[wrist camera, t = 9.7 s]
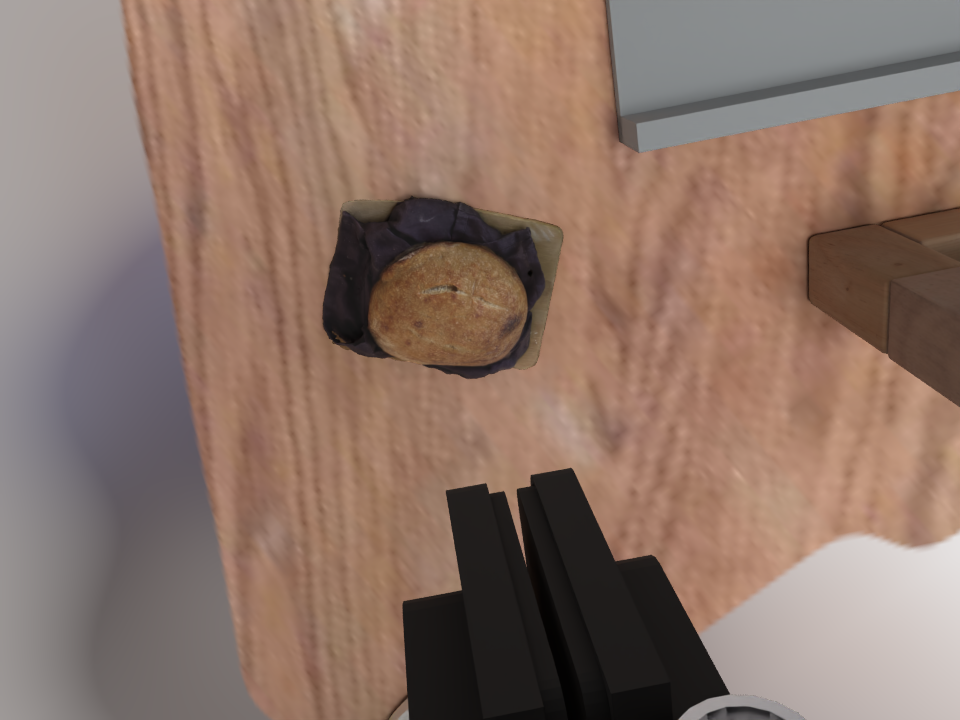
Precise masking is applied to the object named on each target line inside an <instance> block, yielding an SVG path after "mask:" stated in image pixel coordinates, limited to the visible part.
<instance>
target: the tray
mask: <svg viewBox="0 0 960 720" xmlns="http://www.w3.org/2000/svg"><path fill="white" fill-rule="evenodd" d="M606 9H607V19H608V29H609V39H610V49H611V59H612V69H613V79H614V89H615V99H616V109H617V119H618V129H619V139H620V142H621V143H623V144H625V145H626V146H628V147H630V148H632V149H633V150H635V151H637V152H638V153H641V152H646V151H651V150H656V149H661V148H667V147H672V146H677V145H682V144H687V143H692V142H697V141H703V140H708V139H713V138H718V137H723V136H728V135H733V134H738V133H744V132H749V131H754V130H759V129H764V128H769V127H774V126H780V125H785V124H790V123H795V122H800V121H805V120H810V119H815V118H821V117H826V116H831V115H836V114H841V113H846V112H851V111H857V110H862V109H867V108H872V107H877V106H882V105H887V104H892V103H898V102H903V101H908V100H913V99H918V98H923V97H928V96H934V95H939V94H944V93H949V92H954V91H959V90H960V0H606Z"/></svg>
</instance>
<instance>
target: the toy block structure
mask: <svg viewBox="0 0 960 720" xmlns="http://www.w3.org/2000/svg"><path fill="white" fill-rule="evenodd" d="M809 299H810V301H811V303H812V304H813V305H814V306H816V307H817V308H819V309H820V310H822V311H823V312H825V313H826V314H827V315H829V316H830V317H832V318H833V319H835V320H836V321H838V322H839V323H840V324H842V325H843V326H845V327H846V328H848V329H849V330H851V331H852V332H853V333H855V334H856V335H858V336H859V337H861V338H862V339H864V340H865V341H866V342H868V343H869V344H871V345H872V346H874V347H875V348H876V349H878V350H879V351H881V352H882V353H886V354H888V356H889V358H890V359H891V360H893V361H894V362H896V363H897V364H898V365H900V366H901V367H903V368H904V369H906V370H907V371H909V372H910V373H911V374H913V375H914V376H916V377H917V378H919V379H920V380H921V381H923V382H924V383H926V384H927V385H929V386H930V387H932V388H933V389H934V390H936V391H937V392H939V393H940V394H942V395H943V396H945V397H946V398H947V399H949V400H950V401H952V402H953V403H955V404H956V405H958V406H959V407H960V208H959V209H954V210H949V211H943V212H938V213H933V214H927V215H922V216H917V217H911V218H906V219H901V220H895V221H890V222H886V223H883V224H882V225H881V226H879V225H875V224H873V225H868V226H862V227H857V228H852V229H846V230H841V231H836V232H830V233H825V234H820V235H815V236H813V237H811V238H810V241H809Z"/></svg>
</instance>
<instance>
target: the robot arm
mask: <svg viewBox="0 0 960 720" xmlns="http://www.w3.org/2000/svg"><path fill="white" fill-rule="evenodd" d="M530 479H531V486H530V487H525V488H519V489H517V498H518V506H519V513H520V521H521V528H522V535H523V543H524V550H525V557H526V563H525V560H524V557H523V553H522V550H521V546H520V543H519V539H518V536H517V533H516V529H515V526H514V522H513V519H512V515H511V512H510V508H509V505H508V502H507V498H506V495H505V492H504V491H503V492H497V493H492V494H489V491H488V487H487V484H486V483H485V484H479V485H474V486H468V487H463V488H457V489H452V490H446V496H447V502H448V508H449V514H450V520H451V526H452V532H453V538H454V544H455V550H456V556H457V562H458V568H459V574H460V580H461V586H462V590H461V591H456V592H451V593H445V594H440V595H435V596H429V597H424V598H419V599H413V600H408V601H403V626H404V643H405V660H406V677H407V694H408V698H407V699H406V700H405V701H404V702H403V703H402V704H401V705H400V706H399V707H398V708H397V710H396V711H395V712H394V713H393V714H392V716H391V717H390V719H389V720H805V718H804V717H802V716H801V715H800V714H799V713H798V712H795V711H794V710H792V709H790V708H788V707H786V706H784V705H782V704H780V703H778V702H776V701H772V700H768V699H764V698H761V697H757V696H751V695H730V693H729V691H728V689H727V688H726V686H725V684H724V682H723V680H722V678H721V676H720V675H719V673H718V671H717V669H716V667H715V665H714V664H713V662H712V660H711V658H710V656H709V655H708V652H707V650H706V649H705V647H704V645H703V643H702V641H701V639H700V637H699V636H698V634H697V632H696V630H695V628H694V626H693V624H692V623H691V621H690V619H689V617H688V615H687V613H686V611H685V610H684V608H683V606H682V604H681V602H680V600H679V598H678V597H677V595H676V593H675V591H674V589H673V587H672V585H671V584H670V582H669V580H668V578H667V576H666V574H665V572H664V571H663V569H662V567H661V565H660V563H659V562H658V560H657V559H656V557H654V556H652V555H648V556H643V557H637V558H632V559H627V560H621V561H616V562H615V560H614V558H613V555H612V553H611V551H610V549H609V547H608V545H607V542H606V540H605V538H604V536H603V534H602V531H601V529H600V527H599V525H598V523H597V521H596V518H595V516H594V514H593V512H592V510H591V507H590V505H589V503H588V501H587V499H586V497H585V494H584V492H583V490H582V488H581V486H580V483H579V481H578V479H577V477H576V475H575V473H574V471H573V469H572V468H568V469H563V470H557V471H552V472H546V473H541V474H535V475H531V478H530ZM526 564H527V567H526Z"/></svg>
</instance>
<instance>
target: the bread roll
mask: <svg viewBox="0 0 960 720" xmlns="http://www.w3.org/2000/svg"><path fill="white" fill-rule="evenodd" d="M562 242H563V232H562V230H561V228H560V227H558V226H555V225H553V224H548V223H545V222H541V221H537V220H533V219H529V218H521V217H517V216H512V215H509V214H503V213H498V212H493V211H488V210H482V209H476V208H472V207H470V206H468V205H466V204H464V203H461V202H459V203H452V202H448V201H442V200H437V199H426V198H419V199H418V198H414V197H413V196H411V198H410V199H408V200H404V201H394V200H355V201H348V202H346V203H343V205H342V208H341V215H340V220H339V228H338V241H337V245H336V250H335V254H334V257H333V260H332V262H331V265H330V273H329V278H328V283H327V287H326V291H325V298H324V303H323V321H324V322H323V326H324V330H325V331H326V332H327V335H328V336H329V339H331V340H333V342H332V343H333V344H337V345H339V346H340V347H342V348H344V349H346V350H349V349H350V350H352V351H354V352H356V353H357V354H359V355H363V356H367V357H377V358H391V359H394V360H399V361H409V362H413V363H417V364H421V365H424V366H426V367H429V368H436V369H438V370H441V371H443V372H445V373H446V374H458V375H460V376H461V377H464V378H466V379H473V378H475V379H477V378H481V377H485V376H486V375H488V374H494V373H496V372H498V371H501V370H506V369H510V368H515V369H520V370H525V369H528V368H530V367H532V366H535V364H536V362H537V360H538V357H539V352H540V346H541V341H542V336H543V332H544V329H545V324H546V319H547V314H548V310H549V304H550V300H551V295H552V290H553V285H554V281H555V276H556V270H557V266H558V261H559V256H560V251H561V246H562ZM336 338H337V339H336Z"/></svg>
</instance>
